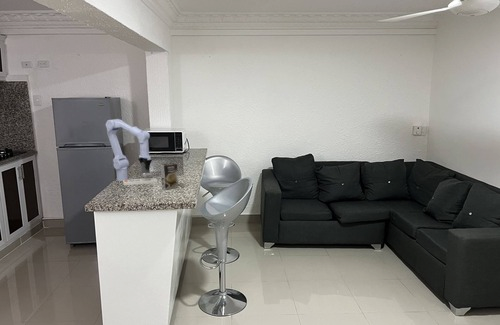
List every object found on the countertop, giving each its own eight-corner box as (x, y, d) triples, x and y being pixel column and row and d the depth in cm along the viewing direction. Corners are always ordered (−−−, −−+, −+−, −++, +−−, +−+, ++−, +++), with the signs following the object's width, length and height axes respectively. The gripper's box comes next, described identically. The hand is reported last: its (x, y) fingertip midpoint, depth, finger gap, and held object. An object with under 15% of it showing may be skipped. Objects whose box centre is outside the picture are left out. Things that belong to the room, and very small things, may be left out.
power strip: (123, 183, 260) (122, 179, 260) (155, 181, 268) (155, 176, 268) (124, 186, 252) (123, 182, 251) (157, 183, 260) (157, 179, 259)
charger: (141, 171, 261) (141, 162, 259) (149, 171, 262) (148, 161, 261) (142, 173, 256) (141, 163, 255) (149, 172, 258) (149, 162, 256)
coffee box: (165, 190, 244) (164, 165, 241) (161, 188, 249) (160, 164, 246) (178, 187, 249) (177, 163, 246) (174, 186, 254) (173, 162, 251)
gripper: (134, 148, 259) (135, 168, 262) (143, 151, 248) (144, 171, 251) (144, 147, 264) (145, 166, 266) (153, 150, 253) (154, 170, 255)
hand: (145, 168), depth 259 cm, fingers closed on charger, 6 cm apart
